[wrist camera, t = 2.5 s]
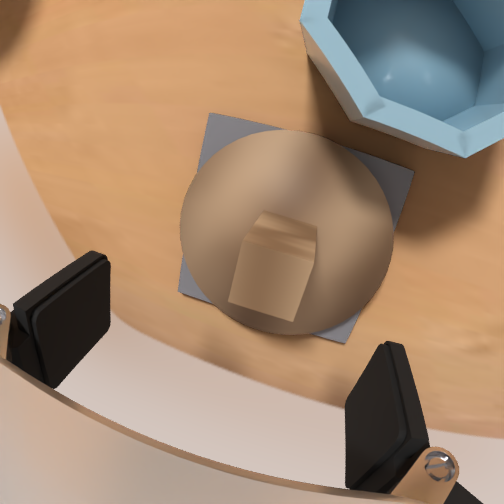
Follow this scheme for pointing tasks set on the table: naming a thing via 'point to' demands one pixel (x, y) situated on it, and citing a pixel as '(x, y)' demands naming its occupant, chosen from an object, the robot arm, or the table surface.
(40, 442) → the robot arm
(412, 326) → the table surface
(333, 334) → the mat
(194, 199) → the lid
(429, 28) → the bowl
